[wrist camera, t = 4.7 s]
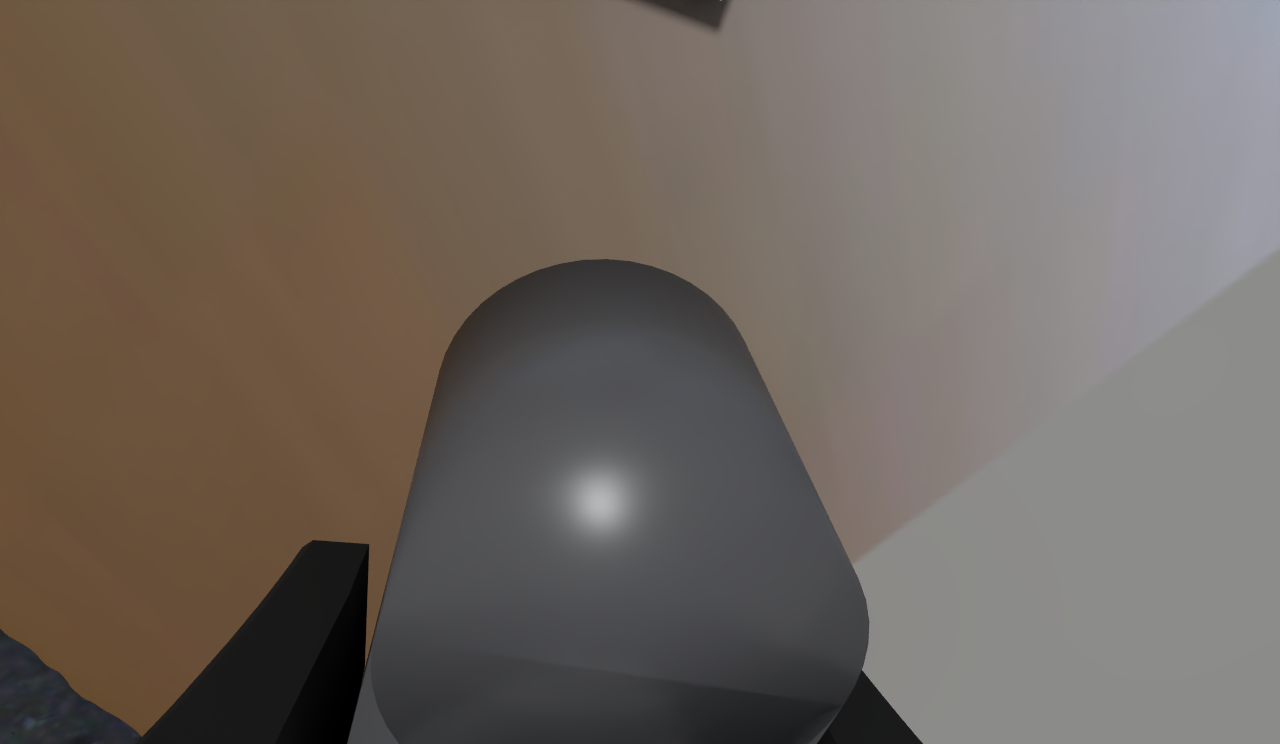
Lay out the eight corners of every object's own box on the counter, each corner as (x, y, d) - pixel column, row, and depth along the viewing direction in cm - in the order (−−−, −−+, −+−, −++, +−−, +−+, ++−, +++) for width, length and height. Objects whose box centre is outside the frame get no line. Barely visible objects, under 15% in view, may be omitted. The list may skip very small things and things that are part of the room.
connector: (806, 310, 9) (959, 535, 6) (573, 791, 14) (581, 1084, 10) (478, 216, 8) (428, 421, 5) (339, 767, 13) (261, 1082, 9)
